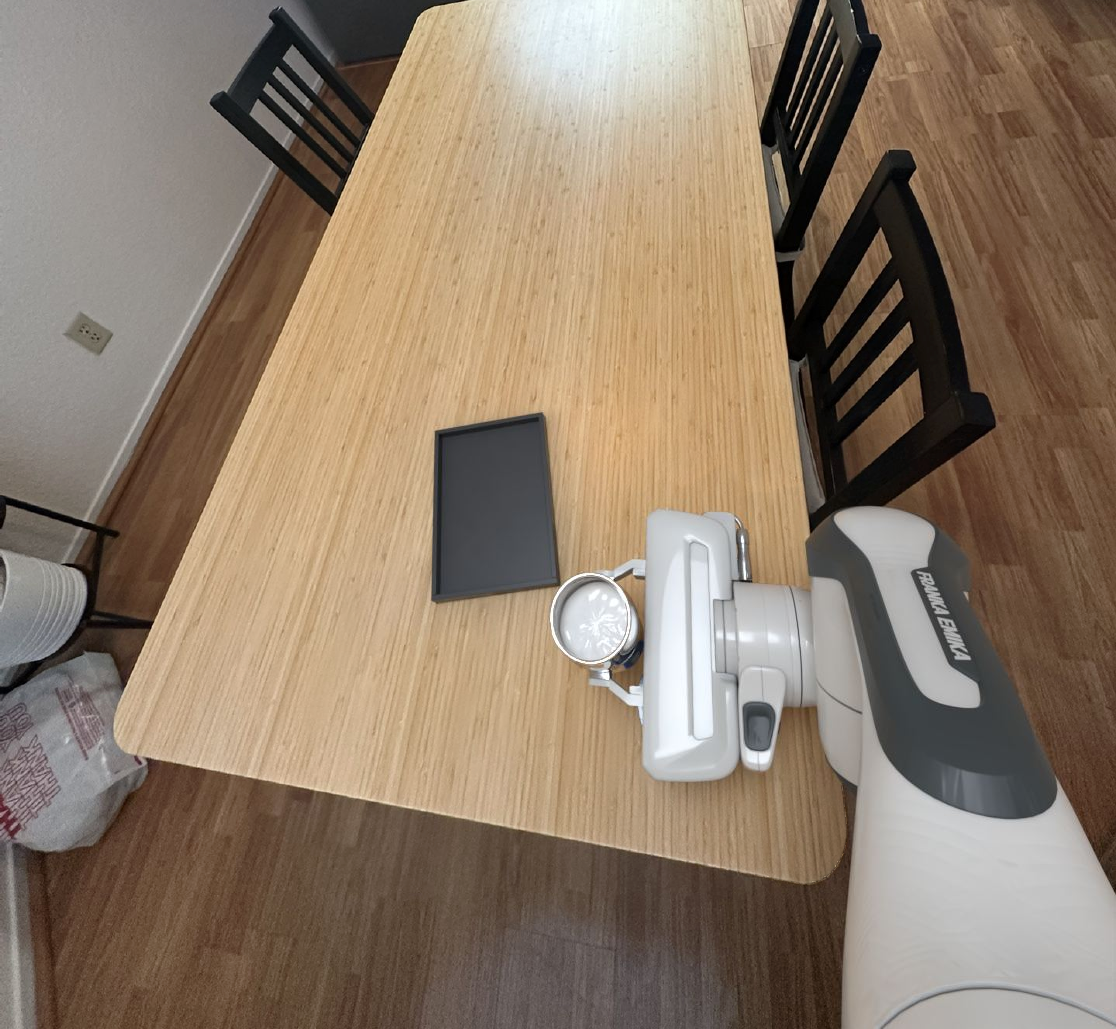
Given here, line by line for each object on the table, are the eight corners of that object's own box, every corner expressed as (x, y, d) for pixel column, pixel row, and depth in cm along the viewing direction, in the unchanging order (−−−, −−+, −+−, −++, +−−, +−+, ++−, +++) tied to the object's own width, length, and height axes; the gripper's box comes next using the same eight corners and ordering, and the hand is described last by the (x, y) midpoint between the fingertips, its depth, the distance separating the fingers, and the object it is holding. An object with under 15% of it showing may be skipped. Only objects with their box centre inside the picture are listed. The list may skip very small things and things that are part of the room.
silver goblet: (566, 621, 63) (531, 598, 51) (625, 583, 64) (604, 552, 52) (601, 693, 59) (572, 688, 47) (663, 652, 60) (651, 635, 48)
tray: (560, 585, 73) (557, 583, 72) (436, 603, 75) (430, 600, 74) (545, 417, 86) (542, 411, 84) (439, 435, 87) (434, 430, 86)
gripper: (748, 503, 56) (594, 496, 59) (769, 798, 44) (577, 771, 47) (745, 521, 61) (604, 514, 64) (763, 790, 49) (590, 766, 52)
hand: (592, 626), depth 55 cm, fingers closed on silver goblet, 6 cm apart
